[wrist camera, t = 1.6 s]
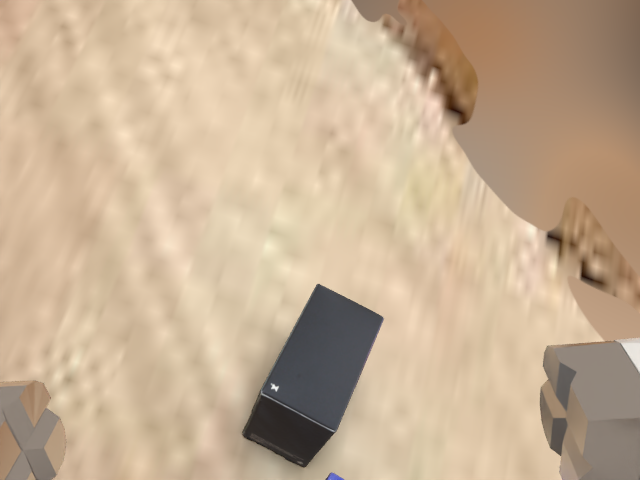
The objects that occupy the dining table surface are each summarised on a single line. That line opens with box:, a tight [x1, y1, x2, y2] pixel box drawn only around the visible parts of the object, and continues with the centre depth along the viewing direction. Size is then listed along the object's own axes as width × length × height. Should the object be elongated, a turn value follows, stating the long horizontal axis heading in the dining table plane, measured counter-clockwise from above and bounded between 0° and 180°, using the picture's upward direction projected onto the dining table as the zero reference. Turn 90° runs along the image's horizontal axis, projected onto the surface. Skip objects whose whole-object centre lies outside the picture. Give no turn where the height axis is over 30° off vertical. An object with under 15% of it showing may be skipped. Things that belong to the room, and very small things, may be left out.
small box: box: [242, 284, 384, 467], centre depth 49 cm, size 11×6×10 cm, turn 156°
